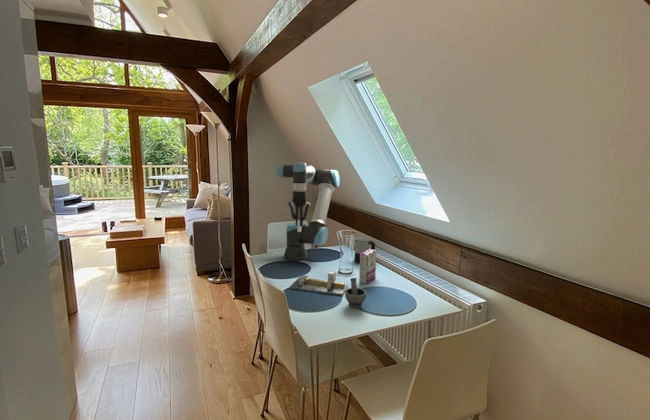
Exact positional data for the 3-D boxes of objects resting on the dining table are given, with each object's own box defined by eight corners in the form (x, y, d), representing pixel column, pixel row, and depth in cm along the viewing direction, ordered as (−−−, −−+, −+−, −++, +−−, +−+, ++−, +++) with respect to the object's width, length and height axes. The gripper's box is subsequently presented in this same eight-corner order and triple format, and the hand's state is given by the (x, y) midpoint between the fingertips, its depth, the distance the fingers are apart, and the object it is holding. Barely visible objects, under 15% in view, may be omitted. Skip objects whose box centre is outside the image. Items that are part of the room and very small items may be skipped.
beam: (300, 280, 189) (300, 275, 188) (345, 286, 182) (345, 280, 181) (295, 285, 182) (295, 279, 182) (341, 291, 175) (341, 286, 175)
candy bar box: (367, 276, 200) (368, 248, 197) (375, 278, 197) (376, 250, 194) (358, 282, 191) (359, 253, 188) (366, 284, 188) (368, 255, 185)
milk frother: (360, 264, 220) (361, 241, 217) (344, 257, 233) (345, 236, 230) (376, 260, 228) (377, 238, 225) (360, 254, 241) (361, 233, 238)
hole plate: (297, 280, 192) (297, 278, 191) (347, 287, 184) (347, 285, 184) (289, 288, 180) (289, 286, 180) (342, 296, 172) (342, 293, 172)
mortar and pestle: (367, 310, 158) (369, 285, 156) (347, 311, 156) (348, 286, 154) (361, 299, 169) (362, 275, 167) (342, 300, 167) (343, 276, 165)
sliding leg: (330, 283, 185) (330, 270, 184) (335, 283, 184) (336, 270, 183) (325, 288, 177) (326, 275, 176) (331, 289, 177) (331, 276, 175)
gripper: (286, 190, 194) (286, 232, 198) (308, 191, 190) (307, 234, 194) (291, 189, 201) (291, 229, 205) (312, 190, 197) (312, 231, 202)
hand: (299, 231), depth 200 cm, fingers closed
